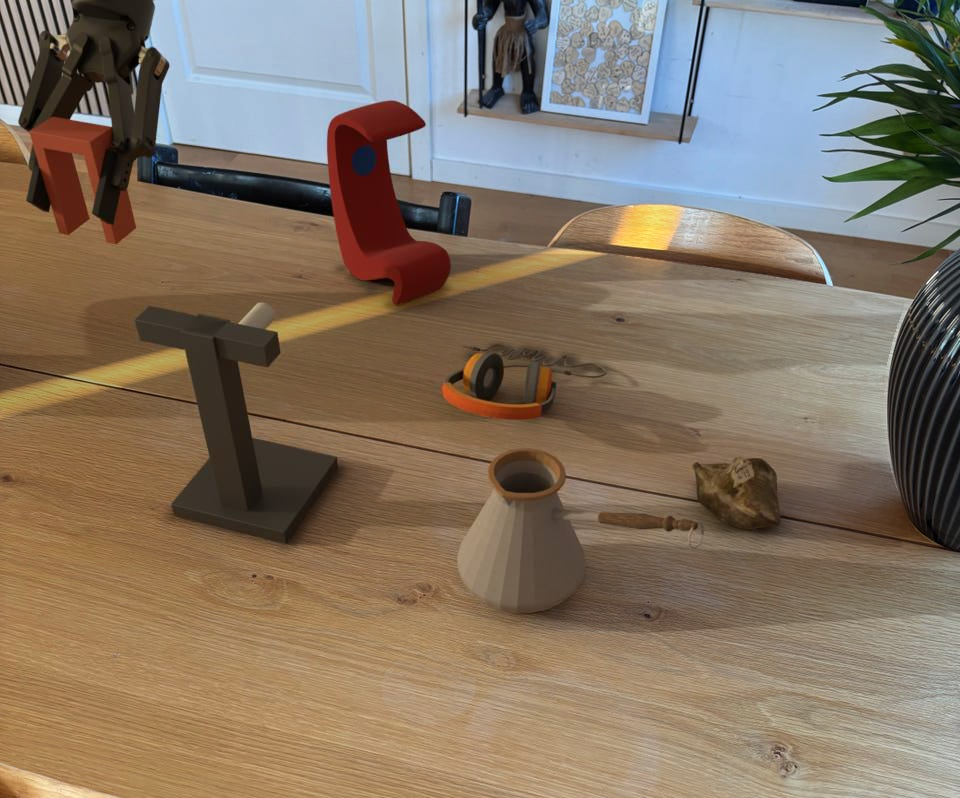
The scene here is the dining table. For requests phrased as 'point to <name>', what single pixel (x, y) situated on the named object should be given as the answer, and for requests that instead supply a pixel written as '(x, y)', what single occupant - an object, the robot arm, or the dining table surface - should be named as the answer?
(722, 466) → the fossilized seashell
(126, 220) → the clip
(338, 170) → the chair
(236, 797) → the dining table surface
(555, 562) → the coffee pot
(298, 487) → the stand
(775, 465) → the dining table surface
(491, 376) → the headphones
